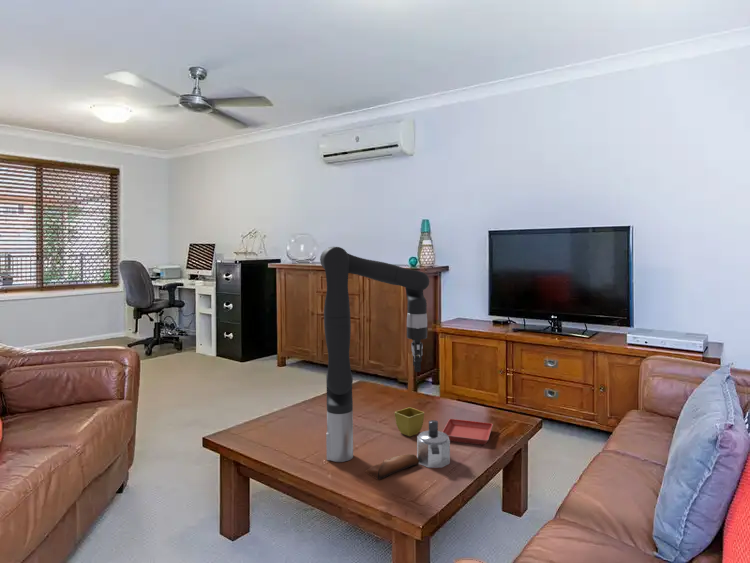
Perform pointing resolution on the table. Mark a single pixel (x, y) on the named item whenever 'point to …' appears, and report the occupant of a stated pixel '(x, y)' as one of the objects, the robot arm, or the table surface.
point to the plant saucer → (468, 431)
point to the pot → (433, 454)
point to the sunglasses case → (392, 466)
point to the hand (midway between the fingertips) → (416, 368)
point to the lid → (433, 434)
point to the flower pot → (409, 421)
